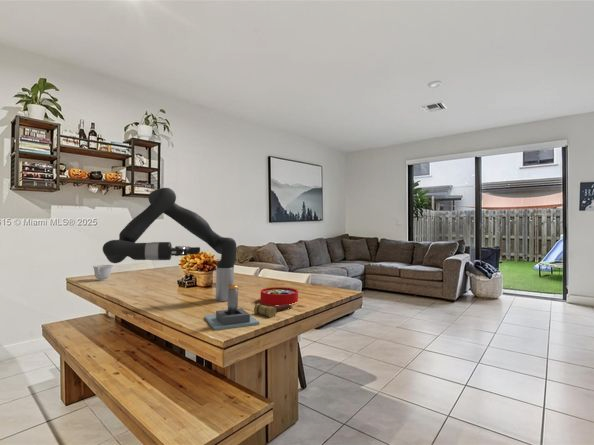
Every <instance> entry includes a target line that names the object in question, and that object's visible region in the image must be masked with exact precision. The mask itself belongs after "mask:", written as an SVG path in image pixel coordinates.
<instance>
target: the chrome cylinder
mask: <svg viewBox="0 0 594 445" xmlns="http://www.w3.org/2000/svg"><path fill="white" fill-rule="evenodd" d="M238 298H239V285H238V284H234V285H229V286H228V301H227V310H228V314H227V315H235V314H237V310H238V309H239V308H238V306H239V305H238V304H239V302H238V301H239V299H238Z"/></svg>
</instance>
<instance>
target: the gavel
mask: <svg viewBox="0 0 594 445" xmlns="http://www.w3.org/2000/svg"><path fill="white" fill-rule="evenodd" d="M288 308H290V309H292V308H293V305H289V304H285V305H279V306H272V305H271V306H269V305H265V304H263V303H256V304H255V305H254V307H253V312H254V313H255V314H256V315H263V316H266V317H268V318H274V317H276V315H277V312H281V311H280V310H282V311H285V310H284V309H287V310H289V309H288ZM273 316H274V317H273Z"/></svg>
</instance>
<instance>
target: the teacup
mask: <svg viewBox="0 0 594 445" xmlns="http://www.w3.org/2000/svg"><path fill="white" fill-rule="evenodd" d="M112 267H113V265H112V264H97V265H95V264H94V265H93V266H92V268H93V272H94V277H95V278H96V279H97V281H99V282H101V281H103V282H104V281H105V282H106V281H107V280H108V278H109V277H110V276H111V273H112Z"/></svg>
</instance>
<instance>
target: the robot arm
mask: <svg viewBox="0 0 594 445" xmlns="http://www.w3.org/2000/svg"><path fill="white" fill-rule="evenodd" d="M147 199H148V202H149V205H148V206H147V207H146V208H145V209H144V210H143V211H142V212H140V213H139V214H138V215H136V216H134V218H132V220H130V221H129V222H128V223H127V224H126V226H124V228H123V229H122V230H121V231H120V232H119V234H118V237H119V239H111V240H108V241H106V242H105V243H104V244H103V245H102V253H103V254H104V256H105V257H106V258H107V261H108V262H109V263H111V264H119V263H121V262H123V261H124V260H125V259H126V258H127V257H128V258H131V260H134V261H170V260H172V256H173V257H174V256H175V257H180V256H181V257H183V256H189V255H199V253H200V252H201V247H200V246H199V247H198V246H197V247H196V246H193V247H191V246H186V245H185V246H184V245H182V246H181V245H176V246H175V247H172V245H173V244H172V243H171V241H153V242H151V241H150V242H137V241H138V239H139V238H140V237H141V236H142V235H143V234H144V233H145V231H146V230H148V228H150V226H151V225H152V224H153V223H154V222H155V221H156V220H157V219H158V218H159V217H161V215H162V214H164V215H166V216H167V217H170V218H171V219H172V220H174V221H175V222H176V223H178V224H179V225H180V226H181V227H183V228H184V229H185V230H187V231H188V232H189V233H191V234H192V235H194V236H195V237H196V238H198V239H200V240H202V241H203V242H205V243H206V244H207V245H208V246H209V247H210V248H211V249H213V251H215V252H216V253H217V254H220V255H221V256H220V259H219V260H218V261H217V262H216V267H215V268H216V271H215V275H216V276H215V277H216V278H215V285H216V286H215V301H219V302H228V286H229V285H235V284H234V283H235V282H234V281H235V280H234V279H235V275H234V273H235V264H236V258H237V243H236V240H235V239H234V238H233V237H223V236H221V235H219V234H218V233H216V232H215V231H214V230H213V229H212V228H211V226H210V224H209V223H208V222H207V220H206V219H205V218H203V217H202V216H201V215H199V214H198V213H197V212H195V211H192V210H190V209H188V208H185V207H182V206H181V205H178V204H177V203H176V202H177V201H176V199H177V195H176V193H175V191H174V190H173V189H171V188H170V187H161V188H158V189H155V190H152V191H151V192H149V194H148V198H147Z"/></svg>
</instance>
